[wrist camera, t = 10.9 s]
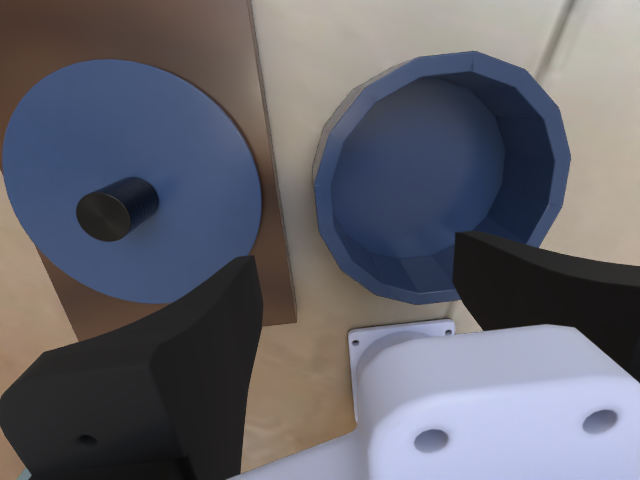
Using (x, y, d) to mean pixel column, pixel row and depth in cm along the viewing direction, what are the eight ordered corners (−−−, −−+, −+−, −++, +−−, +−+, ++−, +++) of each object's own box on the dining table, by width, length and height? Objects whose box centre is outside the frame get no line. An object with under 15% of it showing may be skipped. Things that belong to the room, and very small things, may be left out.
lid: (279, 282, 22) (273, 324, 18) (72, 305, 22) (19, 352, 18) (239, 47, 17) (219, 30, 13) (-29, 76, 17) (-135, 69, 13)
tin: (502, 254, 24) (548, 291, 20) (323, 274, 24) (328, 315, 20) (525, 52, 19) (592, 37, 15) (301, 76, 19) (300, 69, 15)
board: (297, 310, 25) (296, 322, 24) (93, 332, 25) (80, 346, 24) (247, -21, 17) (242, -31, 16) (-46, 12, 17) (-76, 4, 16)
